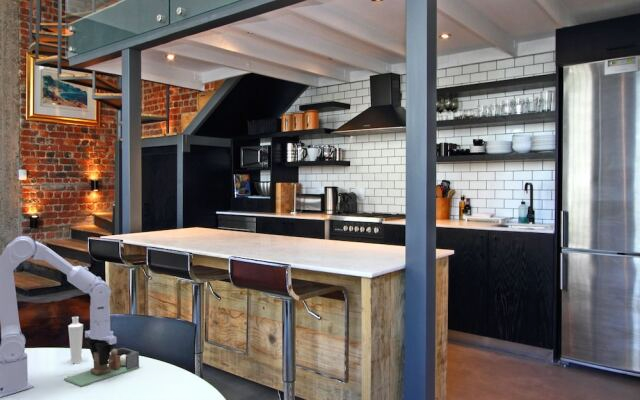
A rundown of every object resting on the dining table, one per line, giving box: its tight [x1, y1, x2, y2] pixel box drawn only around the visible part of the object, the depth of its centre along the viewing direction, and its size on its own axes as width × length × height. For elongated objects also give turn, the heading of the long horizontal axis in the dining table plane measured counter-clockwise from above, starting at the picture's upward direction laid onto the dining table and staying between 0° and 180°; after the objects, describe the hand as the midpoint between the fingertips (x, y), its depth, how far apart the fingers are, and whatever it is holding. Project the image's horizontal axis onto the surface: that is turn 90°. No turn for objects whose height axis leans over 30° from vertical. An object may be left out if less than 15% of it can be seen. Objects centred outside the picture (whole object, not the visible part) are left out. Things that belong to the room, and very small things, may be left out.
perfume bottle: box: [67, 316, 84, 365], centre depth 171 cm, size 5×4×15 cm
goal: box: [116, 347, 140, 370], centre depth 165 cm, size 4×9×5 cm, turn 54°
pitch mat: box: [63, 364, 139, 388], centre depth 159 cm, size 19×10×1 cm, turn 144°
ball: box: [120, 355, 126, 366], centre depth 165 cm, size 4×4×4 cm
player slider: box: [89, 348, 120, 375], centre depth 160 cm, size 8×4×6 cm, turn 144°
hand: (100, 363), depth 159 cm, fingers closed on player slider, 3 cm apart
